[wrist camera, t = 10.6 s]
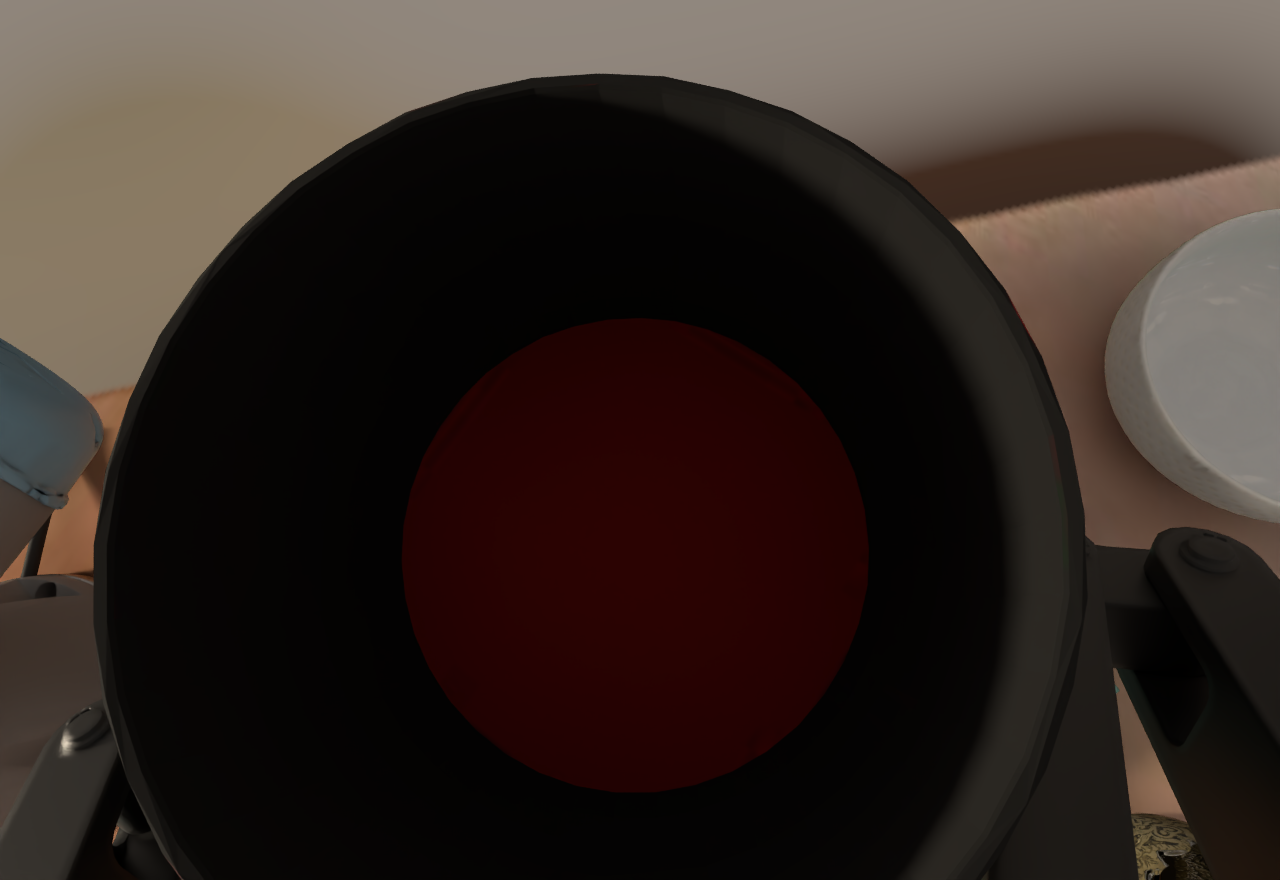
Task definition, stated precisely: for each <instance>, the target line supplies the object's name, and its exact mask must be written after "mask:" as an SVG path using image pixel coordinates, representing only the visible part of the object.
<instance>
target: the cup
mask: <svg viewBox="0 0 1280 880" xmlns="http://www.w3.org/2000/svg"><path fill="white" fill-rule="evenodd" d="M1131 818H1132V826H1133V834H1134V842H1135V850H1136V858H1137V866H1138V874H1139V880H1214V879H1213V877H1212V875H1211V872H1210V870H1209V868H1208V866H1207V864H1206V862H1205V859H1204V857H1203V855H1202V853H1201V851H1200V849H1199V846H1198V844H1197V842H1196V840H1195V838H1194V836H1193V833H1192V831H1191V829H1190V827H1189V825H1188V823H1187V822H1184V821H1180V820H1177V819H1174V818H1169V817H1165V816H1160V815H1154V814H1144V813H1141V814H1131Z"/></svg>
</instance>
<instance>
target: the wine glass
mask: <svg viewBox="0 0 1280 880" xmlns="http://www.w3.org/2000/svg"><path fill="white" fill-rule="evenodd" d="M1087 600H1088V589H1087V565H1086V540H1085V515H1084V508H1083V503H1082V497H1081V492H1080V487H1079V482H1078V476H1077V471H1076V466H1075V461H1074V455H1073V450H1072V445H1071V440H1070V434H1069V431H1068V428H1067V425H1066V422H1065V419H1064V417H1063V414H1062V411H1061V408H1060V406H1059V403H1058V400H1057V397H1056V394H1055V392H1054V389H1053V386H1052V383H1051V381H1050V378H1049V375H1048V372H1047V369H1046V367H1045V364H1044V361H1043V358H1042V356H1041V354H1040V352H1039V350H1038V349H1037V347H1036V345H1035V343H1034V341H1033V339H1032V338H1031V336H1030V334H1029V332H1028V330H1027V328H1026V327H1025V325H1024V323H1023V321H1022V319H1021V317H1020V316H1019V314H1018V312H1017V310H1016V308H1015V306H1014V305H1013V303H1012V301H1011V299H1010V297H1009V296H1008V294H1007V292H1006V290H1005V289H1004V287H1003V286H1002V285H1001V284H1000V282H999V281H998V280H997V278H996V277H995V276H994V275H993V273H992V272H991V271H990V269H989V268H988V267H987V266H986V264H985V263H984V262H983V261H982V259H981V258H980V257H979V255H978V254H977V253H976V252H975V250H974V249H973V248H972V247H971V245H970V244H969V243H968V241H967V240H966V239H965V238H964V236H963V235H962V234H961V233H960V232H959V231H958V230H957V229H956V228H955V227H954V226H953V225H952V224H951V223H950V222H949V221H948V220H947V219H946V218H945V217H944V216H943V215H942V214H941V213H940V212H939V211H938V210H937V209H936V208H935V207H934V206H933V205H932V204H931V203H930V202H929V201H928V200H927V199H926V198H925V197H924V196H922V195H921V194H920V193H919V192H918V191H917V190H916V189H915V188H914V187H913V186H912V185H911V184H910V183H909V182H908V181H907V180H905V179H904V178H902V177H901V176H900V175H898V174H897V173H895V172H894V171H892V170H891V169H890V168H888V167H887V166H885V165H884V164H882V163H881V162H879V161H878V160H877V159H875V158H874V157H872V156H871V155H870V154H868V153H867V152H865V151H864V150H862V149H861V148H859V147H858V146H856V145H855V144H854V143H852V142H851V141H849V140H847V139H845V138H843V137H841V136H839V135H837V134H835V133H833V132H831V131H829V130H827V129H825V128H823V127H821V126H820V125H818V124H816V123H814V122H812V121H810V120H808V119H806V118H804V117H802V116H800V115H798V114H796V113H794V112H793V111H789V110H787V109H784V108H781V107H778V106H774V105H771V104H768V103H765V102H762V101H759V100H756V99H753V98H750V97H747V96H744V95H741V94H738V93H735V92H732V91H729V90H724V89H720V88H715V87H710V86H706V85H701V84H697V83H692V82H687V81H683V80H678V79H674V78H669V77H664V76H643V75H620V74H586V75H571V76H557V77H541V78H530V79H526V80H521V81H516V82H512V83H507V84H502V85H498V86H493V87H488V88H484V89H479V90H475V91H470V92H466V93H463V94H460V95H457V96H454V97H451V98H448V99H445V100H442V101H439V102H436V103H433V104H430V105H427V106H424V107H421V108H418V109H415V110H412V111H409V112H406V113H404V114H402V115H400V116H398V117H396V118H395V119H393V120H391V121H389V122H388V123H385V124H384V125H382V126H380V127H378V128H377V129H375V130H373V131H371V132H369V133H367V134H365V135H363V136H362V137H360V138H358V139H356V140H354V141H352V142H350V143H349V144H347V145H345V146H344V147H343V148H341V149H339V150H338V151H336V152H335V153H334V154H332V155H330V156H329V157H327V158H326V159H324V160H323V161H321V162H320V163H319V164H317V165H316V166H314V167H313V168H311V169H310V170H308V171H307V172H305V173H304V174H302V175H301V176H299V177H298V178H296V179H295V180H293V181H292V182H290V183H289V184H288V185H287V186H286V187H285V188H284V189H283V190H282V191H281V192H280V193H279V194H277V195H276V196H275V197H274V198H273V199H272V200H271V201H270V202H269V203H268V204H267V205H265V206H264V207H263V208H262V209H261V210H260V211H259V212H258V213H257V214H256V215H255V216H254V217H252V218H251V219H250V220H249V221H248V222H247V223H246V224H245V225H244V226H243V227H242V228H241V229H240V230H239V231H238V233H237V234H236V235H235V236H234V237H233V239H232V240H231V241H230V242H229V243H228V244H227V245H226V246H225V248H224V249H223V250H222V251H221V252H220V253H219V255H218V256H217V257H216V258H215V259H214V260H213V262H212V263H211V264H210V265H209V266H208V267H207V269H206V270H205V271H204V272H203V273H202V274H201V276H200V277H199V278H198V279H197V281H196V282H195V284H194V285H193V287H192V288H191V290H190V291H189V293H188V294H187V296H186V297H185V299H184V300H183V302H182V303H181V305H180V306H179V308H178V309H177V310H176V312H175V313H174V315H173V316H172V318H171V319H170V321H169V322H168V324H167V325H166V327H165V328H164V330H163V331H162V333H161V334H160V336H159V338H158V340H157V342H156V344H155V346H154V348H153V350H152V352H151V355H150V357H149V359H148V361H147V363H146V365H145V368H144V370H143V372H142V374H141V376H140V378H139V380H138V382H137V384H136V387H135V389H134V391H133V393H132V395H131V397H130V399H129V402H128V405H127V408H126V411H125V414H124V417H123V420H122V423H121V426H120V429H119V432H118V435H117V438H116V441H115V444H114V447H113V450H112V453H111V456H110V459H109V462H108V465H107V468H106V472H105V478H104V484H103V491H102V497H101V503H100V510H99V516H98V522H97V528H96V535H95V541H94V585H93V626H94V635H95V643H96V651H97V659H98V667H99V675H100V684H101V692H102V700H103V704H104V707H105V710H106V714H107V717H108V720H109V723H110V726H111V729H112V732H113V736H114V739H115V742H116V745H117V748H118V751H119V755H120V758H121V761H122V764H123V767H124V770H125V774H126V777H127V780H128V782H129V784H130V786H131V788H132V790H133V792H134V794H135V797H136V799H137V801H138V803H139V805H140V807H141V809H142V811H143V813H144V816H145V818H146V820H147V822H148V824H149V826H150V828H151V830H152V833H153V835H154V837H155V839H156V841H157V843H158V845H159V847H160V850H161V852H162V854H163V855H164V856H165V858H166V859H167V860H168V862H169V863H170V865H171V866H172V867H173V869H174V870H175V871H176V873H177V874H178V875H179V877H180V878H181V880H981V879H982V878H983V877H984V875H985V874H986V873H987V871H988V870H989V869H990V867H991V866H992V865H993V863H994V862H995V861H996V860H997V858H998V857H999V856H1000V854H1001V853H1002V852H1003V850H1004V849H1005V847H1006V845H1007V843H1008V841H1009V839H1010V837H1011V835H1012V834H1013V832H1014V830H1015V828H1016V826H1017V824H1018V822H1019V820H1020V819H1021V817H1022V815H1023V813H1024V811H1025V809H1026V807H1027V805H1028V804H1029V802H1030V800H1031V798H1032V796H1033V794H1034V792H1035V790H1036V789H1037V787H1038V785H1039V783H1040V781H1041V779H1042V777H1043V775H1044V774H1045V772H1046V769H1047V766H1048V763H1049V760H1050V757H1051V754H1052V751H1053V748H1054V745H1055V742H1056V739H1057V735H1058V732H1059V729H1060V726H1061V723H1062V720H1063V717H1064V714H1065V711H1066V708H1067V705H1068V702H1069V698H1070V695H1071V692H1072V689H1073V686H1074V681H1075V675H1076V669H1077V662H1078V656H1079V650H1080V644H1081V638H1082V631H1083V625H1084V619H1085V613H1086V606H1087Z"/></svg>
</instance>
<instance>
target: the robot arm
mask: <svg viewBox="0 0 1280 880" xmlns="http://www.w3.org/2000/svg"><path fill="white" fill-rule="evenodd" d="M103 435H104V430H103V424H102V421H101V419H100V416H99V415H98V413H97V411H96V410H95V408H94V407H93V406H92V405H91V403H90V402H89V401H88V400H87V399H86V398H85V397H84V396H83V395H82V394H80V393H79V392H78V391H77V390H76V389H75V388H73V387H72V386H71V385H70V384H68V383H67V382H66V381H64V380H63V379H62V378H60V377H59V376H58V375H56V374H55V373H53V372H52V371H51V370H49V369H48V368H46V367H45V366H43V365H42V364H40V363H39V362H37V361H36V360H34V359H33V358H31V357H30V356H28V355H27V354H25V353H23V352H22V351H20V350H19V349H17V348H16V347H14V346H12V345H11V344H9V343H7V342H6V341H4V340H2V339H1V338H0V578H1V576H2V575H3V574H4V573H5V571H6V570H7V569H8V568H9V566H10V565H11V564H12V563H13V561H14V560H15V559H16V558H17V556H18V555H19V554H20V553H21V551H22V550H23V549H24V548H25V546H26V545H27V544H28V543H29V545H28V549H27V554H26V558H25V562H24V566H23V570H22V574H21V578H16V579H11V580H7V581H3V582H0V880H181V878H180V877H179V875H178V874H177V873H176V871H175V870H174V869H173V867H172V866H171V865H170V863H169V862H168V860H167V859H166V858H165V856H164V855H163V854H162V852H161V850H160V847H159V845H158V843H157V841H156V839H155V837H154V835H153V833H152V830H151V828H150V826H149V824H148V822H147V820H146V818H145V816H144V813H143V811H142V809H141V807H140V805H139V803H138V801H137V799H136V797H135V794H134V792H133V790H132V788H131V786H130V784H129V782H128V780H127V777H126V774H125V770H124V767H123V764H122V761H121V758H120V755H119V751H118V748H117V745H116V742H115V739H114V736H113V732H112V729H111V726H110V723H109V720H108V717H107V714H106V710H105V707H104V704H103V700H102V692H101V684H100V675H99V667H98V659H97V651H96V643H95V635H94V626H93V585H94V577H91V576H85V575H75V574H48V575H37V573H38V569H39V564H40V560H41V556H42V552H43V547H44V543H45V539H46V535H47V531H48V527H49V523H50V519H51V515H52V513H53V511H54V510H55V509H57V510H58V509H62V508H63V507H64V506H65V505H66V504H67V502H68V500H69V498H68V495H67V493H68V492H69V491H70V489H71V488H72V486H73V485H74V484H75V482H76V481H77V479H78V478H79V477H80V475H81V474H82V473H83V471H84V470H85V468H86V467H87V466H88V464H89V463H90V461H91V460H92V459H93V457H94V456H95V454H96V453H97V452H98V450H99V448H100V446H101V443H102V440H103ZM1085 540H1086V565H1087V589H1088V600H1087V606H1086V613H1085V619H1084V625H1083V631H1082V638H1081V644H1080V650H1079V656H1078V662H1077V669H1076V675H1075V681H1074V686H1073V689H1072V692H1071V695H1070V698H1069V702H1068V705H1067V708H1066V711H1065V714H1064V717H1063V720H1062V723H1061V726H1060V729H1059V732H1058V735H1057V739H1056V742H1055V745H1054V748H1053V751H1052V754H1051V757H1050V760H1049V763H1048V766H1047V769H1046V772H1045V774H1044V775H1043V777H1042V779H1041V781H1040V783H1039V785H1038V787H1037V789H1036V790H1035V792H1034V794H1033V796H1032V798H1031V800H1030V802H1029V804H1028V805H1027V807H1026V809H1025V811H1024V813H1023V815H1022V817H1021V819H1020V820H1019V822H1018V824H1017V826H1016V828H1015V830H1014V832H1013V834H1012V835H1011V837H1010V839H1009V841H1008V843H1007V845H1006V847H1005V849H1004V850H1003V852H1002V853H1001V854H1000V856H999V857H998V858H997V860H996V861H995V862H994V863H993V865H992V866H991V867H990V869H989V870H988V871H987V873H986V874H985V875H984V877H983V878H982V879H981V880H1139V874H1138V866H1137V858H1136V850H1135V842H1134V834H1133V826H1132V818H1131V810H1130V802H1129V794H1128V786H1127V778H1126V770H1125V762H1124V754H1123V746H1122V738H1121V730H1120V722H1119V714H1118V706H1117V698H1116V690H1115V682H1114V674H1113V668H1116V669H1117V671H1118V673H1119V676H1120V678H1121V680H1122V682H1123V684H1124V686H1125V688H1126V691H1127V693H1128V695H1129V697H1130V699H1131V701H1132V704H1133V706H1134V708H1135V710H1136V712H1137V714H1138V717H1139V719H1140V721H1141V723H1142V725H1143V727H1144V730H1145V732H1146V734H1147V736H1148V738H1149V740H1150V743H1151V745H1152V747H1153V749H1154V751H1155V753H1156V756H1157V758H1158V760H1159V762H1160V764H1161V766H1162V769H1163V771H1164V773H1165V775H1166V777H1167V779H1168V782H1169V784H1170V786H1171V788H1172V790H1173V792H1174V795H1175V797H1176V799H1177V801H1178V803H1179V805H1180V807H1181V810H1182V812H1183V814H1184V816H1185V818H1186V820H1187V823H1188V825H1189V827H1190V829H1191V831H1192V833H1193V836H1194V838H1195V840H1196V842H1197V844H1198V846H1199V849H1200V851H1201V853H1202V855H1203V857H1204V859H1205V862H1206V864H1207V866H1208V868H1209V870H1210V872H1211V875H1212V877H1213V879H1214V880H1280V580H1279V579H1278V577H1277V576H1276V575H1275V574H1274V573H1273V571H1272V570H1271V569H1270V568H1269V567H1268V565H1267V564H1266V563H1265V562H1264V561H1263V559H1262V558H1261V557H1260V556H1258V555H1257V554H1256V553H1255V552H1254V551H1253V550H1251V549H1250V548H1249V547H1248V546H1246V545H1244V544H1242V543H1240V542H1238V541H1237V540H1235V539H1233V538H1231V537H1229V536H1226V535H1223V534H1219V533H1216V532H1213V531H1210V530H1205V529H1198V528H1191V527H1181V528H1170V529H1167V530H1165V531H1163V532H1161V533H1158V535H1157V537H1156V538H1155V540H1154V542H1153V544H1152V547H1151V549H1150V550H1147V549H1133V548H1119V547H1106V546H1098V545H1094V543H1093V542H1092V541H1091V540H1090V539H1089V538H1088V537H1086V536H1085ZM116 825H117V826H118V827H119V830H118V833H117V835H116V838H115V840H114V842H113V844H112V841H113V835H114V830H115V827H116Z"/></svg>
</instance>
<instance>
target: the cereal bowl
mask: <svg viewBox="0 0 1280 880" xmlns="http://www.w3.org/2000/svg"><path fill="white" fill-rule="evenodd" d="M1104 356H1105V363H1104V365H1105V370H1104V371H1105V373H1104V374H1105V381H1106V388H1107V390H1108V397H1109V399H1110V404H1111V405H1112V410H1113V412H1114V414H1115V417H1116V418H1117V419H1118V421H1119V423H1120V425H1121V427H1122V429H1123V430H1124V432H1125V434H1126V435H1127V436H1128V438H1129V440H1130V441H1131V443H1132V444H1133V445H1134V446H1135V448H1136V449H1137V450H1138V451H1139V452H1140V453H1141V454H1142V456H1143V457H1144V458H1145V459H1146V460H1147V461H1148V462H1149V463H1150V464H1151V465H1152V466H1154V467H1155V469H1156V470H1157V471H1159V472H1160V473H1161V474H1163V475H1164V476H1165V477H1166V478H1167V479H1169V480H1171V481H1172V482H1173V483H1175V484H1176V485H1178V486H1179V487H1181V488H1182V489H1183V490H1185V491H1187V492H1188V493H1190V494H1192V495H1194V496H1196V497H1198V498H1199V499H1200V500H1203V501H1206V502H1208V503H1210V504H1212V505H1214V506H1216V507H1218V508H1222V509H1225V510H1228V511H1230V512H1232V513H1234V514H1238V515H1243V516H1247V517H1249V518H1252V519H1256V520H1264V521H1268V522H1271V523H1280V209H1271V210H1265V211H1259V212H1254V213H1250V214H1246V215H1242V216H1239V217H1235V218H1232V219H1230V220H1227V221H1224V222H1222V223H1219V224H1217V225H1214V226H1213V227H1211V228H1209V229H1207V230H1205V231H1203V232H1201V233H1199V234H1197V235H1196V236H1194V237H1193V238H1192V239H1190V240H1188V241H1187V242H1185V243H1184V244H1182V245H1181V246H1180V247H1179V248H1178V249H1176V250H1174V251H1173V252H1171V253H1170V254H1169V255H1168V256H1167V257H1165V258H1164V259H1162V260H1161V261H1160V262H1159V263H1158V264H1157V265H1156V266H1155V267H1154V268H1153V269H1151V270H1150V271H1149V272H1148V273H1147V274H1146V275H1145V277H1144V278H1143V279H1141V280H1140V281H1139V282H1138V284H1137V285H1136V287H1135V288H1134V289H1133V290H1132V291H1131V292H1130V293H1129V295H1128V297H1127V298H1126V300H1125V301H1124V302H1123V303H1122V305H1121V307H1120V309H1119V310H1118V312H1117V313H1116V317H1115V319H1114V321H1113V323H1112V326H1111V330H1110V333H1109V336H1108V338H1107V344H1106V353H1105V355H1104Z"/></svg>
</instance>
